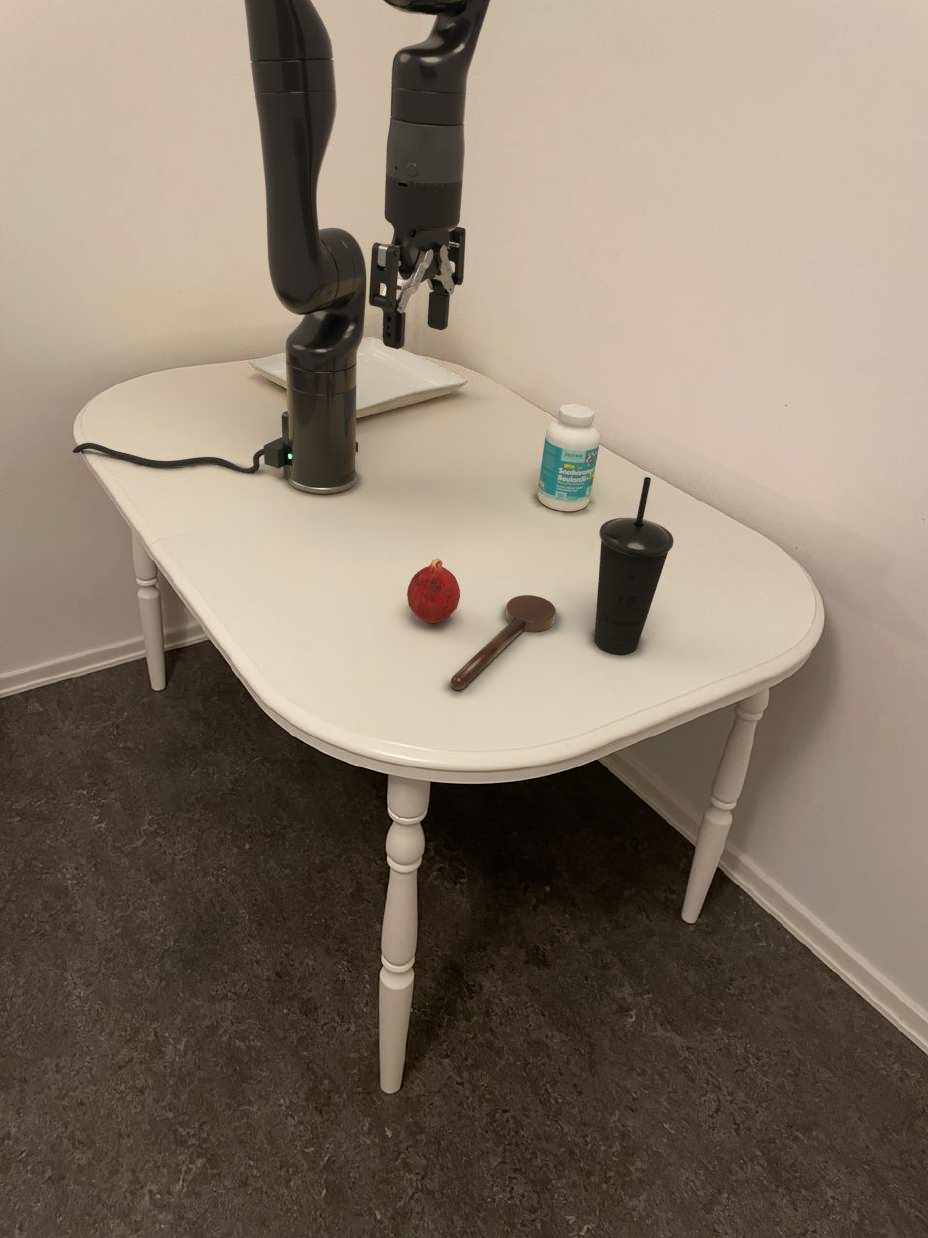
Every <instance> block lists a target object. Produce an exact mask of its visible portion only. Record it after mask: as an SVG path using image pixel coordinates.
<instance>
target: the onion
mask: <svg viewBox="0 0 928 1238" xmlns="http://www.w3.org/2000/svg"><path fill="white" fill-rule="evenodd" d="M406 596H407V597H406V598H407V603H408V606H409V609H410V610H411V612H412V613H413V614H414V615H415V616H416V617H417V618H418V619H420V620H422V621H424V622H425V623H428V624H436V623H440V622H441V621H443V620H446V619H447V618H449V617H450V616H451V615H452V614H454V612H455V611H456V610H457V608H458V605H459V603H460V599H461V589H460V585H459V582H458V580H457V578H456V576H455V575H454V574H453V572H451V571H450V570H449V569H447V568H446V567H444V566H443V561H442V560H440V559H439V558H435V559H432V560H431V563H429V566H425V567H423V568H422V569H420V570H419V571H417V572H416V573H415V574H414V575H413V576H412V578H411V580H410V582H409V584H408V586H407V592H406Z"/></svg>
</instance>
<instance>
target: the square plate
mask: <svg viewBox="0 0 928 1238" xmlns="http://www.w3.org/2000/svg"><path fill="white" fill-rule="evenodd" d="M248 365H250V366H251V367H252V368H253V369H254V370H255V371H256V372H257V373H258V374H260V376H262V377H264V378H266V379H267V380H269V381H271V382H273V383H274V384H277V385H279V386H281V387H283V388H284V389H285V390H287V383H286V353H285V352H280V353H276V354H271V355H267V356H264V357H259V358H255V359H251V360H248ZM468 381H469V380H468V379H467V378H465V377H464V376H461V375H459V374H457V373H455V372H453V371H451V370H449V369H447V368H445V367H442V366H440V365H438V364H437V363H435V362H433V361H430V360H428V359H426V358H424V357H422V356H419V355H418V354H415V353H412V352H411V351H408V350H405V349H403V348H400V349H394V348H391V347H387V346H385V345H384V343H383V339H382V340H381V339H379V338H377V337H374V336H365V337H364V336H363V338H362V341H361V343H360V346H359V348H358V351H357V377H356V419H359V418H365V417H369V416H373V415H378V414H381V413H384V412H385V413H386V412H388V411H389V412H390V411H393V410H396V409H400V408H403V407H407V406H411V405H415V404H418V403H423V402H425V401H428V400H431V399H435V398H438V397H442V396H446V395H449V394H452V393H454V392H456V391H458V390H459V389H461V388H463V386H465V385H466V384H467V383H468Z"/></svg>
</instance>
